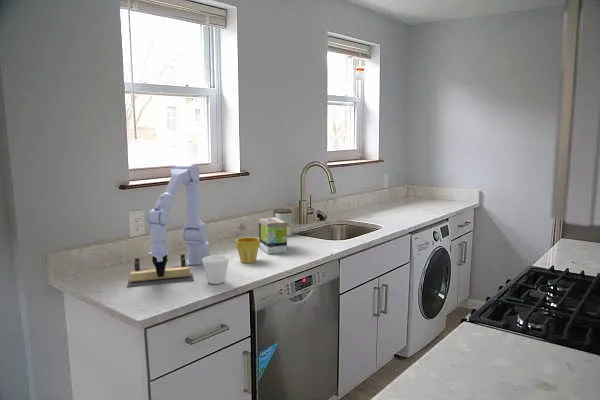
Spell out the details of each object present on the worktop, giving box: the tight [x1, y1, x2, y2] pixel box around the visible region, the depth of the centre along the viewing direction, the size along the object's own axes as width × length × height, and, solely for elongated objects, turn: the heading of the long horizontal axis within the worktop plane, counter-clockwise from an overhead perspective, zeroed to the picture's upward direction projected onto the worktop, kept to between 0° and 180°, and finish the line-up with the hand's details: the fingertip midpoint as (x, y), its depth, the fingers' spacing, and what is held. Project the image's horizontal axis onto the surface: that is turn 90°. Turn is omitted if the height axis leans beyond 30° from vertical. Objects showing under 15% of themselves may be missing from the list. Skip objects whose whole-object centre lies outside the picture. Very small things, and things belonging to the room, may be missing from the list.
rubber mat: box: [126, 272, 194, 288], centre depth 178 cm, size 24×9×1 cm, turn 107°
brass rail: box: [129, 266, 191, 282], centre depth 178 cm, size 22×3×3 cm, turn 107°
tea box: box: [258, 217, 288, 255], centre depth 222 cm, size 15×10×15 cm, turn 22°
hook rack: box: [131, 253, 189, 272], centre depth 188 cm, size 22×8×6 cm, turn 107°
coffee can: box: [272, 208, 293, 238], centre depth 254 cm, size 10×10×14 cm
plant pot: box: [235, 236, 260, 264], centre depth 203 cm, size 10×10×10 cm
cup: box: [202, 254, 229, 285], centre depth 175 cm, size 10×10×9 cm
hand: (160, 275), depth 178 cm, fingers closed on brass rail, 3 cm apart
